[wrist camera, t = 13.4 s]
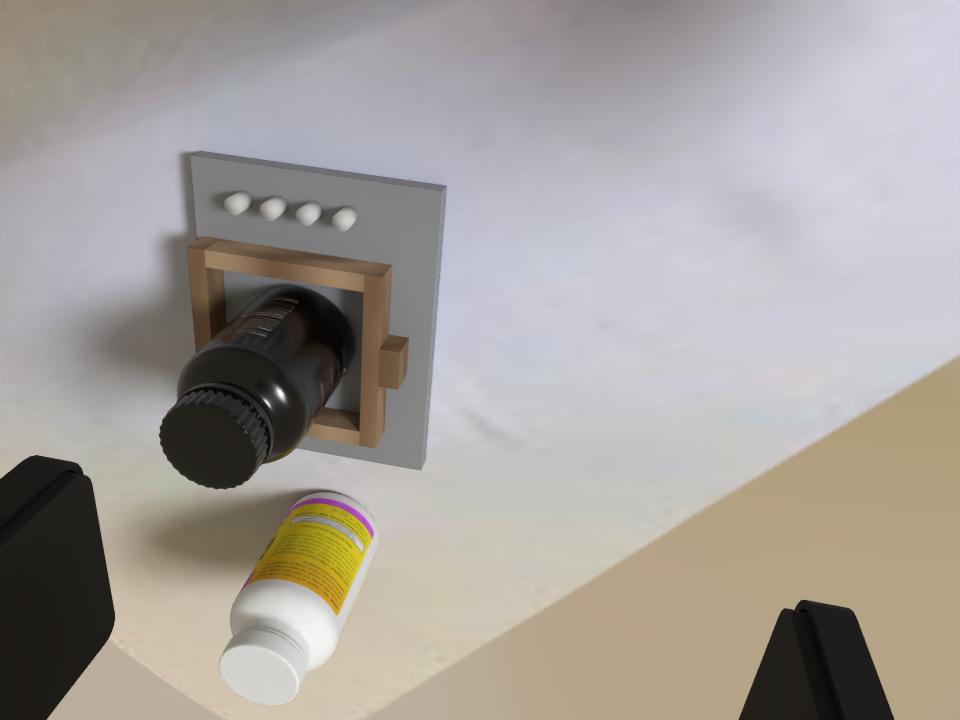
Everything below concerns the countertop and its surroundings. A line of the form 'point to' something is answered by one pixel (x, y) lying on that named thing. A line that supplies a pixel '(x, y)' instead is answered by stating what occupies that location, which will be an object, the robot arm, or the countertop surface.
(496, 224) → the countertop surface
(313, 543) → the supplement bottle
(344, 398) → the board
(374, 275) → the frame
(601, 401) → the countertop surface
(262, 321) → the supplement bottle
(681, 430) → the countertop surface
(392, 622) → the countertop surface
